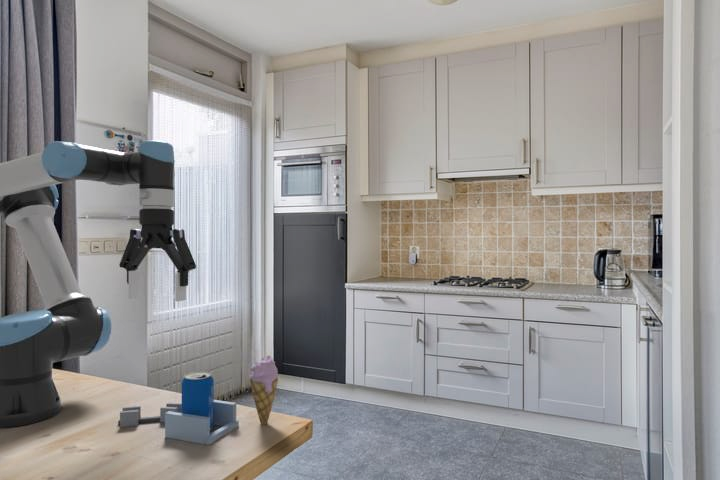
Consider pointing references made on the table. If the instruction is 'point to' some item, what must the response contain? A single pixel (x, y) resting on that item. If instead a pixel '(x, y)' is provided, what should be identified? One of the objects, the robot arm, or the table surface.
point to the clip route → (133, 417)
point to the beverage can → (198, 395)
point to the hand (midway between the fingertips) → (157, 299)
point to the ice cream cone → (264, 387)
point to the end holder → (201, 424)
